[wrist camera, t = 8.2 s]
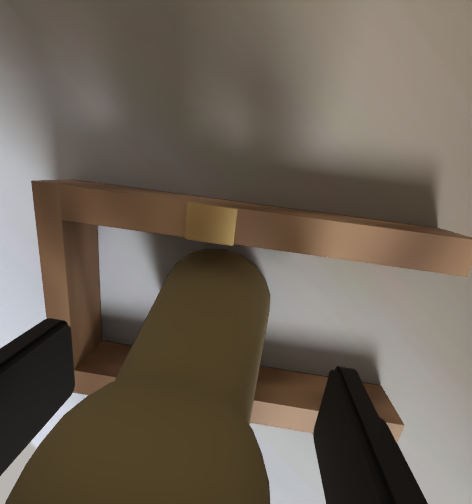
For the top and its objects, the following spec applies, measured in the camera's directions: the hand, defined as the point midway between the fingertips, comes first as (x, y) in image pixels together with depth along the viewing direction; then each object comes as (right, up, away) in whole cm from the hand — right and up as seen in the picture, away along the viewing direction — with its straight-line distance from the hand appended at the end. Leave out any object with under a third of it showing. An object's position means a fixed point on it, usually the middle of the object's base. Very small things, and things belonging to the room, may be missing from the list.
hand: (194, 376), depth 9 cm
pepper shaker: (0, +2, +5) cm, 6 cm away
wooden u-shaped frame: (+2, +2, +5) cm, 6 cm away
